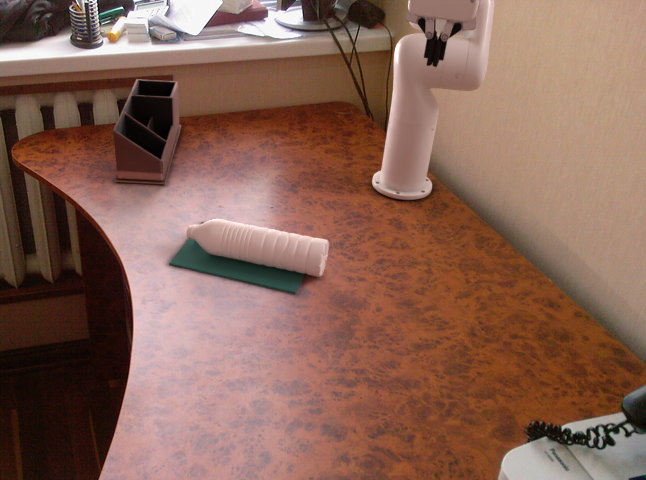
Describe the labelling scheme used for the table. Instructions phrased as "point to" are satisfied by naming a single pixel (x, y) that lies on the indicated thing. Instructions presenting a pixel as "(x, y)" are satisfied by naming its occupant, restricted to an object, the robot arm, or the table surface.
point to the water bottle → (262, 246)
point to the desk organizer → (147, 132)
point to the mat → (236, 268)
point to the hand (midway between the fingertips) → (432, 63)
